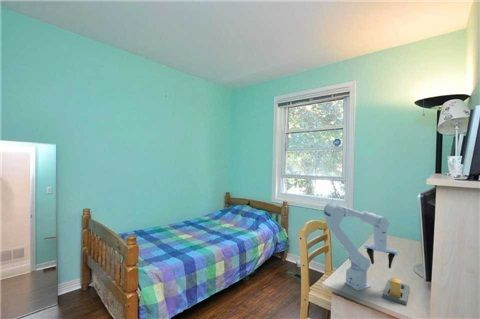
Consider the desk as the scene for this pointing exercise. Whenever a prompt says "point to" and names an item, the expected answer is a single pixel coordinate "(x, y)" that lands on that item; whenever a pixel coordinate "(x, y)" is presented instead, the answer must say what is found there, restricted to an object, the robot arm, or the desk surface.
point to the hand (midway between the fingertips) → (381, 265)
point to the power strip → (400, 300)
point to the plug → (395, 287)
